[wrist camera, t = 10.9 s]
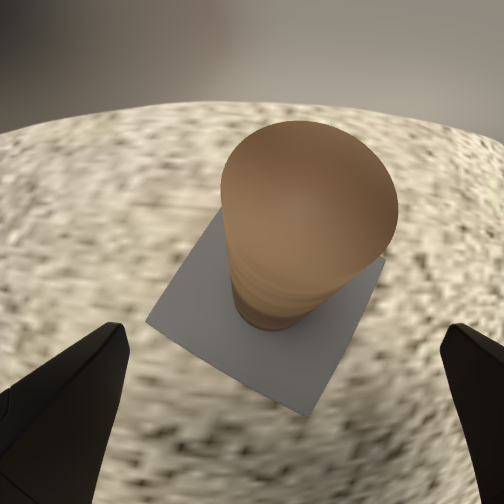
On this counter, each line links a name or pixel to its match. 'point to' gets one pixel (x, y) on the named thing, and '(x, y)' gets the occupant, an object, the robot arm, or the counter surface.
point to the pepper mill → (301, 218)
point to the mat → (250, 338)
